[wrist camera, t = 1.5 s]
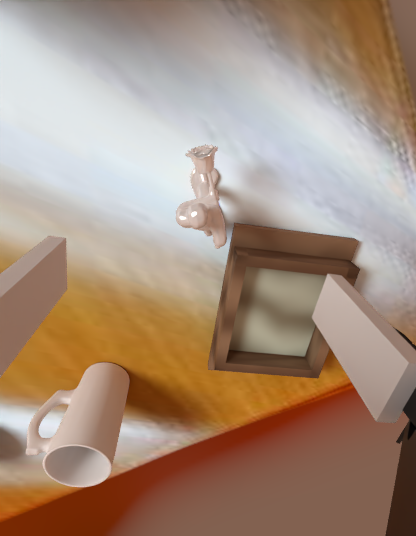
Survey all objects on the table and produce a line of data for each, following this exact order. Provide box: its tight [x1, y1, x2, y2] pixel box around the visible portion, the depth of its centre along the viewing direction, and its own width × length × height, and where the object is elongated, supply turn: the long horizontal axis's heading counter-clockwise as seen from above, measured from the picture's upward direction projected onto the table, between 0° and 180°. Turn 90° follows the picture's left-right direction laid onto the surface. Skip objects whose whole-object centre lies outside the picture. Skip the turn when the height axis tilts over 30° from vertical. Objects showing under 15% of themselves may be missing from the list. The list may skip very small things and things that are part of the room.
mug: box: [26, 362, 130, 487], centre depth 37 cm, size 10×7×12 cm, turn 80°
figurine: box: [176, 144, 227, 249], centre depth 27 cm, size 5×9×12 cm, turn 18°
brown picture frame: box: [208, 223, 360, 378], centre depth 37 cm, size 20×14×4 cm
